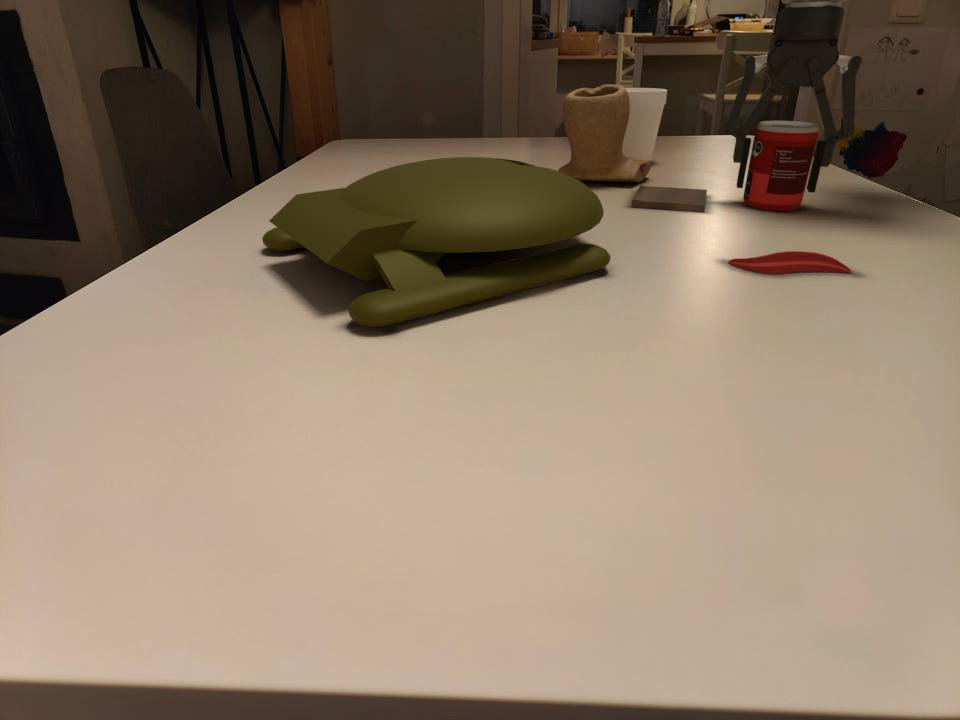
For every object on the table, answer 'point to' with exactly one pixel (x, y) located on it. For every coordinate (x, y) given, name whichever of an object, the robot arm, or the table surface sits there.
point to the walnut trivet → (670, 198)
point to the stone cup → (600, 136)
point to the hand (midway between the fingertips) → (774, 188)
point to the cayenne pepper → (791, 263)
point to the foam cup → (643, 122)
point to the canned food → (780, 164)
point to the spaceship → (443, 232)
